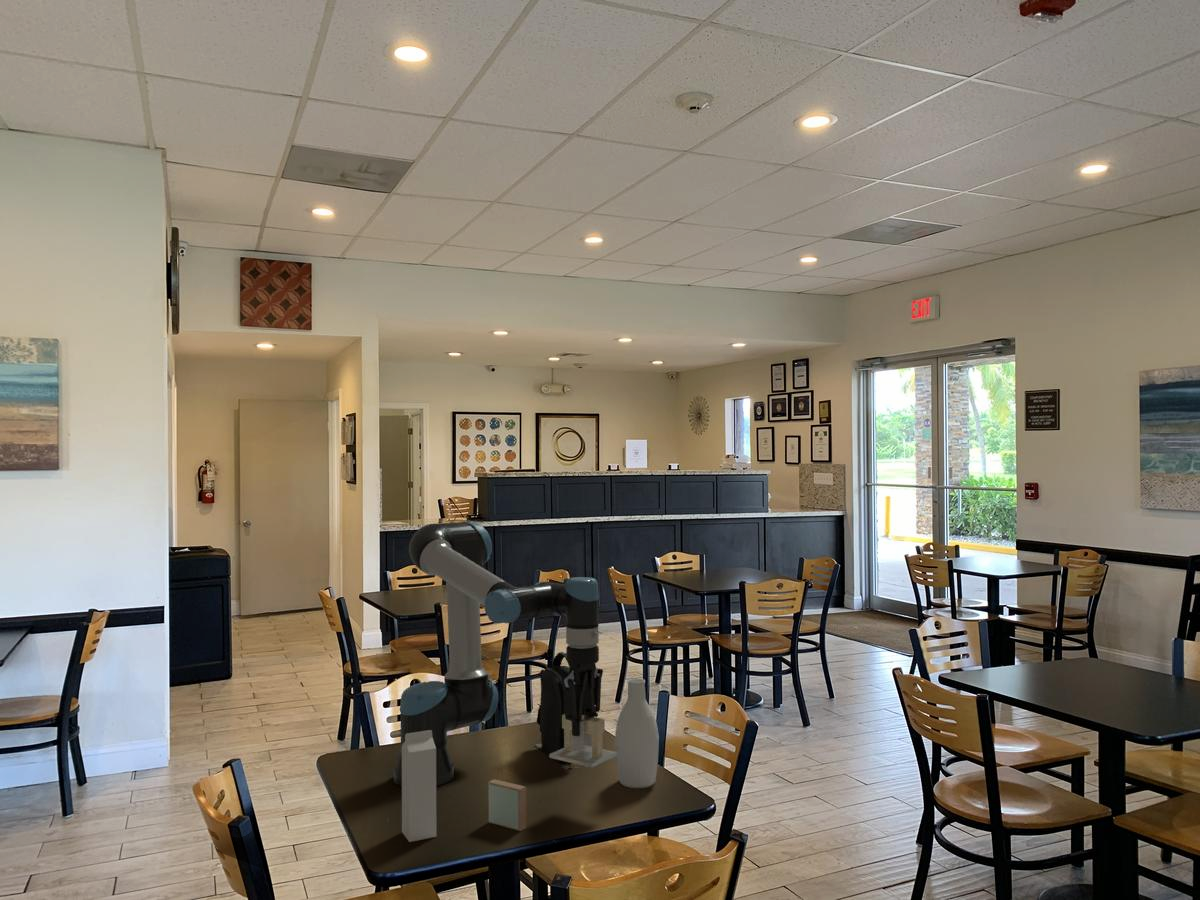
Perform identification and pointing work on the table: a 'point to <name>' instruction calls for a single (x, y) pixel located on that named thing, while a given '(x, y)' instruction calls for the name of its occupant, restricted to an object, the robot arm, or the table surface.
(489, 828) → the table surface
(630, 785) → the bottle
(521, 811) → the tile
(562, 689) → the shoulder bag
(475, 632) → the robot arm
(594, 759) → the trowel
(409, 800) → the milk
